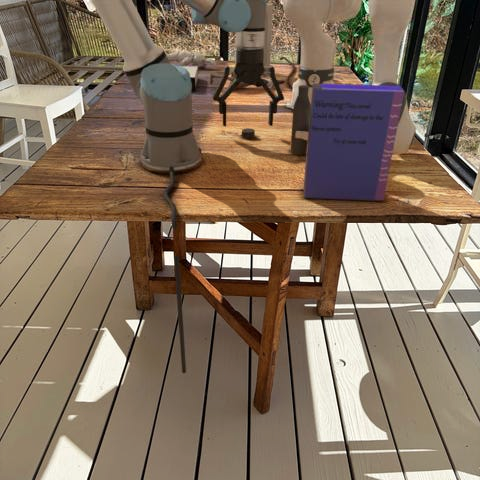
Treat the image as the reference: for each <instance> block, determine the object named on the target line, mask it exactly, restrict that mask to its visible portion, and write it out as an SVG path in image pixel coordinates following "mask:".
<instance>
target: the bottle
mask: <svg viewBox="0 0 480 480" xmlns="http://www.w3.org/2000/svg"><path fill="white" fill-rule="evenodd" d="M298 89H299V92H298V96H297V99H296V101H295V103H294V106H293V109H292V123H291V135H290V136H291V137H290V139H291V140H290V149H289V150H290V151H289V152H290V154H292V155H296V156H304V155H305V156H306V153H307V142H308V141H307V140H304V139H302V138H296V137H295V135H296V131H297V130H303V131H305V132H308V131H309V120H310V109H311V104H310V99H309V97H308V91H309V86H307V85H300V86H299V88H298Z"/></svg>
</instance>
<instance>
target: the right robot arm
mask: <svg viewBox="0 0 480 480" xmlns="http://www.w3.org/2000/svg"><path fill="white" fill-rule="evenodd" d="M362 2H363V0H282V9H283V12H284V15H285V17H286V18H287V20H288V21H290V22H291V23H292V24H293V25H294V27H295V28H296V30H297V32H298V35H299V36H298V37H299V40H300V61H299V62H300V64H299V65H298V69H297V80H295V81H294V82H293V84H291V83H290V79H291V77H292V76H293V74H294V73H295V70H296V65H295V64H294V63H293V62H292V61H290V60H289V59H288V58H287V57H285V56H281V57H279V61H282V60H285V61H286V62H287V63H288V64H290V65H291V66H292V70H291V72H290V74H289V75H288V76H287V79H286V83H287V85H288V87H289V88H290V89H291V90H292V91H291V100H289V101H288V102H286V104H285V107H286V108H288V109H292V110H293V106H294V103H295V101H296V99H297V96H298V92H299V89H298V88H299V86H300V85H307V86H309V91H308V97H309V99H310V104H311V98H312V87H313V84H335V82H334V80H333V79H334V75H335V67H334V64H335V53H336V43H335V41H334V39H333V38H332V37H331V36H330V35H328V34H326V33H324V31H323V23H338V22H339V23H340V22H344V21H349V20H352V19H354V18H356V17H357V15H358V13H359V12H360V11H361V8H362V4H363V3H362ZM367 2H368V14H369V23H370V27H371V28H370V29H371V34H372V39H373V63H372V65H373V66H372V80H371V83H370V85H382V86H399V87H401V88H402V89H403V91H404V95H403V100H402V105H401V111H400V116H399V121H398V127H397V132H396V137H395V142H394V148H393V153H392V156H397V155H403V154H406V152H408V151H409V150H410V148H411V146H412V145H413V142H414V140H415V136H416V131H417V129H416V125H415V124H414V122H413V120H412V117H411V114H410V111H409V107H408V106H409V105H408V99H407V98H408V97H407V94H406V91H405V90H404V88H403V86H401V85H400V84H398V68H399V55H400V54H399V53H400V47H401V44H402V43H401V42H402V39H403V37H404V35H405V33H406V30H407V28H408V26H409V24H410V22H411V21H412V16H413V14H414V13H413V12H414V9H415V3H416V0H368V1H367ZM295 137H296V138H302V139H304V140H307V141H308V132H305V131H303V130H297V131H296V135H295Z"/></svg>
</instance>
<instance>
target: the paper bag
mask: <svg viewBox="0 0 480 480" xmlns="http://www.w3.org/2000/svg"><path fill="white" fill-rule="evenodd" d="M273 8H274V4H273V3H269V2H267V4H266V17H265V38H264V46H263V47H262V48H263V49H264V61H263V65H264V67H269V66H270V65H271V56H272V55H271V54H272V33H273V32H272V31H273V10H274V9H273ZM236 39H237V32H236V33H235V40H236ZM238 47H239V46H237V45H236V44H235V50H236V49H237V48H238ZM234 60H235V62H234V63H235V65H236V57H235V59H234ZM235 65H234V66H235ZM266 74H267V72H266V71H265V72H264V73H263V75H266Z"/></svg>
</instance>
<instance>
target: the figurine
mask: <svg viewBox="0 0 480 480" xmlns="http://www.w3.org/2000/svg"><path fill="white" fill-rule="evenodd" d="M222 76H223V74H213V73H211V74H210V78H209V85H212V84H213V83H214V79H215V78H216V79H221V78H222ZM236 76H237V75H236V73H235V71H233V72H232V74H231V75H230V76H229V77H228V79H227V81H229V84H228V86H229V85H230V84H231V83H232V82H233V81H234V79H235V78H236ZM262 80H263V81H264V82H265V83H266V85H267V86H268V87H269V88H271V89H273V88H275V87H274V85H273V82H272V80H271V78H265V77H262ZM277 81H278V84H279V86H281V85H284V84H286V83H287V79H286V80H285V79H277ZM249 86H255V87H256V88H262V86H261V84H260V83H259V82H258V81H257V82H256V83H243V82H241V83H240V84H239V85H238V86H237V87H236V88H235V89H241V88H247V87H249Z"/></svg>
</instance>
